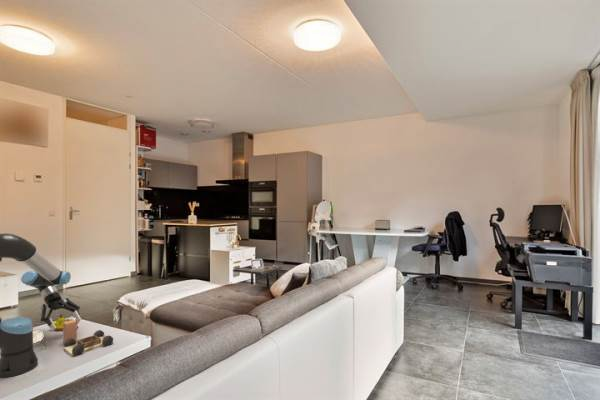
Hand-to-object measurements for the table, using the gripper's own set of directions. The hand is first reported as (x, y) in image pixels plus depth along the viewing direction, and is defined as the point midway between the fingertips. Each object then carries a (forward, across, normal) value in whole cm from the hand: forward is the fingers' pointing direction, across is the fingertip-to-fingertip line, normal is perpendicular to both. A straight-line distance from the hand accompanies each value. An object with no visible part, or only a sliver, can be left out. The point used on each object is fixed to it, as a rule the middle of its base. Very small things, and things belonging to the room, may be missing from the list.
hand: (67, 324), depth 185 cm
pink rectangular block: (+10, +1, -4) cm, 10 cm away
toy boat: (-8, -10, -22) cm, 26 cm away
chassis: (+20, 0, +7) cm, 21 cm away
